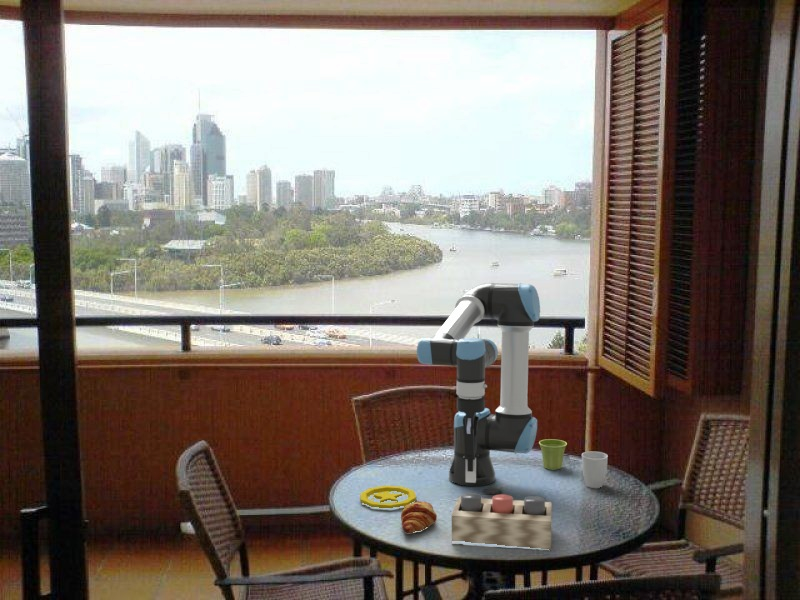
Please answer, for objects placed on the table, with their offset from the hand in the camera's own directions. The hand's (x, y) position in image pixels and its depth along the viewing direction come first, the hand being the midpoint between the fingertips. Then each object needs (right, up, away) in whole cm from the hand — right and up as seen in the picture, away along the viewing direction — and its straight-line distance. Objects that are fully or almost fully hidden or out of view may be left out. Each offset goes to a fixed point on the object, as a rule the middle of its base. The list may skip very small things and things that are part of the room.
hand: (470, 481), depth 222 cm
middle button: (+9, -9, 0) cm, 13 cm away
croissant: (-14, -15, +10) cm, 23 cm away
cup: (+43, -10, +40) cm, 60 cm away
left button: (0, -9, +1) cm, 9 cm away
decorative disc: (-23, -13, +30) cm, 40 cm away
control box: (+9, -15, 0) cm, 17 cm away
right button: (+17, -9, -2) cm, 19 cm away
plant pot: (+33, -8, +59) cm, 68 cm away
